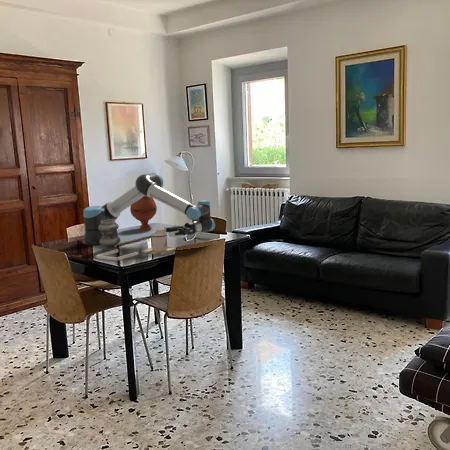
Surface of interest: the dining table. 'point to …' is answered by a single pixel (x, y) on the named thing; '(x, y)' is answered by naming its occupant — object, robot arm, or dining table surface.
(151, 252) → the oak board
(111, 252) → the cup dock
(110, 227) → the apothecary jar
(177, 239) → the dining table surface
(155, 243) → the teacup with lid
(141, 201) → the goblet
